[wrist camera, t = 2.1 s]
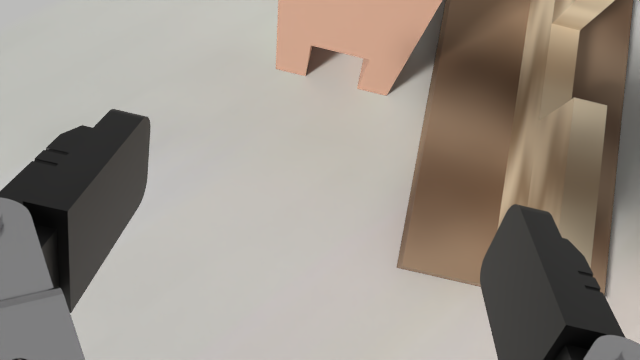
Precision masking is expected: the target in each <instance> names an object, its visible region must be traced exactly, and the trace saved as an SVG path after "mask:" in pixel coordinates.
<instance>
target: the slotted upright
mask: <svg viewBox="0 0 640 360" xmlns="http://www.w3.org/2000/svg"><path fill="white" fill-rule="evenodd" d="M441 2H442V0H278V26H277V52H276V69H279V70H283V71H287V72H291V73H295V74H300V75H304V76H306V72H307V68H308V64H309V59H310V55H311V51H312V47H313V46H315V47H319V48H323V49H328V50H332V51H336V52H340V53H344V54H348V55H352V56H356V57H360V58H364V59H363V64H362V68H361V73H360V78H359V82H358V87H357V89H361V90H366V91H370V92H374V93H378V94H382V95H386V96H387V94H388V92H389V90H390V89H391V87H392V85H393V84H394V82H395V80H396V79H397V77H398V75H399V73H400V72H401V70H402V68H403V67H404V65H405V63H406V62H407V60H408V58H409V56H410V55H411V53H412V51H413V50H414V48H415V46H416V44H417V43H418V41H419V39H420V38H421V36H422V34H423V33H424V31H425V29H426V27H427V26H428V24H429V22H430V21H431V19H432V17H433V16H434V14H435V12H436V10H437V9H438V7H439V5H440V4H441Z"/></svg>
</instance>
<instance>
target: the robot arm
mask: <svg viewBox="0 0 640 360" xmlns="http://www.w3.org/2000/svg"><path fill="white" fill-rule="evenodd" d="M149 141H150V120H149V118H148V117H145V116H141V115H137V114H133V113H128V112H124V111H120V110H116V109H112V110H110V111H109V112H108V113H107V114H106V115H105V116H104V117H103V118H102V119H101V120H100V121H99V122H98V123H97V124H96V125H95V127H94V128H91V127H87V126H83V125H82V126H79V127H77V128H75V129H72V130H70V131H67V132H65V133H63V134H60V135H59V136H58V137H57V138H56V139H55V140H54V141H53V142H52V143H51V144H50V145H49V146H48V147H46V151H45V150H43V151H42V152H41V153H40V154H39V155H38V156H37V157H36V158H35V161H34V162H33V161H32V162H31V163H30V164H29V165H28V166H26V167H25V168H24V169H23V170H22V171H21V172H20V173H19V174H18V175H17V176H16V177H15V178H14V179H13V180H12V181H11V182H10V183H9V184H7V185H6V186H5V187H4V188H3V189H2V190H1V191H0V360H85V358H84V355H83V352H82V349H81V346H80V343H79V340H78V337H77V334H76V330H75V327H74V324H73V321H72V318H71V315H70V313H71V312H72V310H73V309H74V307H75V306H76V304H77V303H78V301H79V299H80V298H81V296H82V295H83V293H84V292H85V290H86V288H87V287H88V285H89V284H90V282H91V281H92V279H93V277H94V276H95V274H96V273H97V271H98V270H99V268H100V266H101V265H102V263H103V262H104V260H105V259H106V257H107V255H108V254H109V252H110V251H111V249H112V248H113V246H114V244H115V243H116V241H117V240H118V238H119V237H120V235H121V233H122V232H123V230H124V229H125V227H126V226H127V224H128V222H129V221H130V219H131V218H132V216H133V215H134V213H135V211H136V210H137V208H138V207H139V205H140V203H141V201H142V198H143V195H144V192H145V188H146V183H147V174H148V157H149ZM480 284H481V289H482V293H483V297H484V302H485V306H486V310H487V314H488V318H489V323H490V327H491V331H492V335H493V339H494V344H495V348H496V352H497V356H498V360H640V344H638V343H636V342H634V341H632V340H630V339H627V338H625V336H624V334H623V332H622V330H621V328H620V326H619V324H618V322H617V320H616V318H615V316H614V314H613V312H612V310H611V308H610V306H609V304H608V302H607V300H606V298H605V296H604V294H603V293H602V292H600V289H601V288H600V286H599V284H598V282H597V280H596V278H594V277H593V272H592V270H591V268H590V266H589V264H588V262H587V260H586V258H585V256H584V255H583V254H582V253H581V252H580V251H579V250H578V249H577V248H576V247H575V246H574V245H573V244H572V243H571V242H570V241H569V240H568V239H565V238H562V236H561V234H560V232H559V230H558V228H557V226H556V223H555V221H554V219H553V217H552V215H551V214H550V213H549V212H547V211H543V210H539V209H535V208H530V207H526V206H522V205H518V204H514V205H512V206H511V207H510V208H509V209H508V211H507V212H506V214H505V216H504V218H503V220H502V222H501V224H500V226H499V228H498V230H497V232H496V234H495V236H494V238H493V240H492V242H491V244H490V246H489V248H488V250H487V252H486V254H485V257H484V259H483V262H482V266H481V271H480Z"/></svg>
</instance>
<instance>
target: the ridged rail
mask: <svg viewBox="0 0 640 360" xmlns="http://www.w3.org/2000/svg"><path fill="white" fill-rule="evenodd" d="M632 6H633V0H446V2H445V8H444V13H443V18H442V24H441V29H440V35H439V40H438V46H437V51H436V56H435V62H434V67H433V73H432V78H431V84H430V89H429V95H428V100H427V105H426V111H425V116H424V122H423V127H422V133H421V138H420V144H419V149H418V154H417V160H416V165H415V171H414V176H413V182H412V187H411V192H410V198H409V203H408V209H407V214H406V220H405V225H404V231H403V236H402V241H401V247H400V252H399V258H398V263H397V268H401V269H405V270H410V271H414V272H419V273H423V274H427V275H432V276H436V277H440V278H445V279H449V280H454V281H458V282H462V283H467V284H471V285H475V286H480V287H481V284H480V271H481V266H482V262H483V259H484V257H485V254H486V252H487V250H488V248H489V246H490V244H491V242H492V240H493V238H494V236H495V234H496V232H497V230H498V228H499V226H500V224H501V222H502V220H503V218H504V216H505V214H506V212H507V211H508V209H509V208H510V207H511V206H512V205H514V204H518V205H522V206H526V207H530V208H535V209H539V210H543V211H547V212H549V213H550V214H551V215H552V217H553V219H554V221H555V223H556V226H557V228H558V230H559V232H560V234H561V236H562V238H565V239H568V240H569V241H570V242H571V243H572V244H573V245H574V246H575V247H576V248H577V249H578V250H579V251H580V252H581V253H582V254H583V255H584V256H585V258H586V260H587V262H588V264H589V266H590V268H591V270H592V272H593V277H594V278H596V280H597V282H598V284H599V286H600V288H601V289H600V292H602V293H603V294H605V284H606V274H607V263H608V253H609V243H610V233H611V222H612V212H613V202H614V191H615V181H616V171H617V161H618V150H619V140H620V130H621V120H622V109H623V99H624V89H625V78H626V68H627V58H628V48H629V37H630V27H631V17H632Z"/></svg>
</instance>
